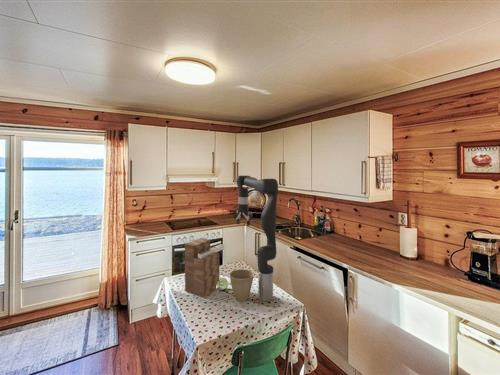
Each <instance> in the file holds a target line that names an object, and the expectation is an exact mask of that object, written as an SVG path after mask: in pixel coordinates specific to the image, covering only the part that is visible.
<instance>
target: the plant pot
mask: <svg viewBox="0 0 500 375" xmlns="http://www.w3.org/2000/svg"><path fill="white" fill-rule="evenodd" d="M254 274H255V273H254V272H253V271H252V270H249V269H241V268H240V269H235V270H232V271H231V272H230V273H229V279H230V285H231V288H232V293H233V295H234V298H235V300H236V301H237V302H240V303H241V302H246V301H248V299H249V296H250V293H251V290H252V286H253V281H254Z"/></svg>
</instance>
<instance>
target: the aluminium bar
mask: <svg viewBox="0 0 500 375" xmlns="http://www.w3.org/2000/svg"><path fill="white" fill-rule="evenodd" d="M222 250H225V244H222V243H220V244H218V245H215V246H212V247H210V249H208V250H206V251H203V252H201V253H199V254H198V259H203V258H206V257H208V256H210V255H212V254H214V253H216V252H217V253H219V252H220V251H222Z"/></svg>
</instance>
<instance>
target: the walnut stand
mask: <svg viewBox="0 0 500 375" xmlns="http://www.w3.org/2000/svg"><path fill="white" fill-rule="evenodd" d="M210 248H211V239H209V238H208V239H207V238H203V237H200V238H198V239H194V240H192V241H189V242H185V243H184V288H185V289H184V292H186V291H187V293H189V294H193V295H194V296H197V297H201V298H203V299H204V298H206V297H207V296H208V295H211V293H213V292H214V291H216V290H217V289H216V284H217V282H218V281H219V282H220V253H219V252H216V253H214V254H212V255H210V256H208V257H206V258H203V259H198V254H199V253H201V252H203V251H206V250H208V249H210Z"/></svg>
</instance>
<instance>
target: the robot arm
mask: <svg viewBox="0 0 500 375" xmlns="http://www.w3.org/2000/svg"><path fill="white" fill-rule="evenodd" d="M235 181H236V186H237V189H238V197H237V198H238V199H237V200H238V202H237V204H238V205H237V207H238V208H237V209H236V210H234V212H233V213H234V214H233V215H234V219H236V224H237V225H240V219H241V218H245V219H246V226H247V227H249V226H250V225H251V221H253V211H249V189H248V188H251V189H254V190H256V191H258V192H259V193H261V194H263V195H267V194H268V199H267V203H266V204H265V206H264V208H263V210H262V212H261V215H260V227H261V229H262V231H263V232H264V234H265V237H266V245H263V246H259V247H258V249H257V252H256V258H257V269H258V281H257V282H258V288H257V289H258V290H257V294H258V296H257V298H258V299H259V300H260V301H262V302H271V301H273V299H274V267H273V265H271V264H268V262H270V261H272V260H275V258H276V257H277V243H276V242H277V238H276V228H277V226H276V224H277V200H278V192H279V183H278V180H277V179H275V178H262V179H258V178H256V177H252V176H250V175H238V176H237V177H236V178H235ZM244 186H246V187H248V188H245V187H244Z"/></svg>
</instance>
